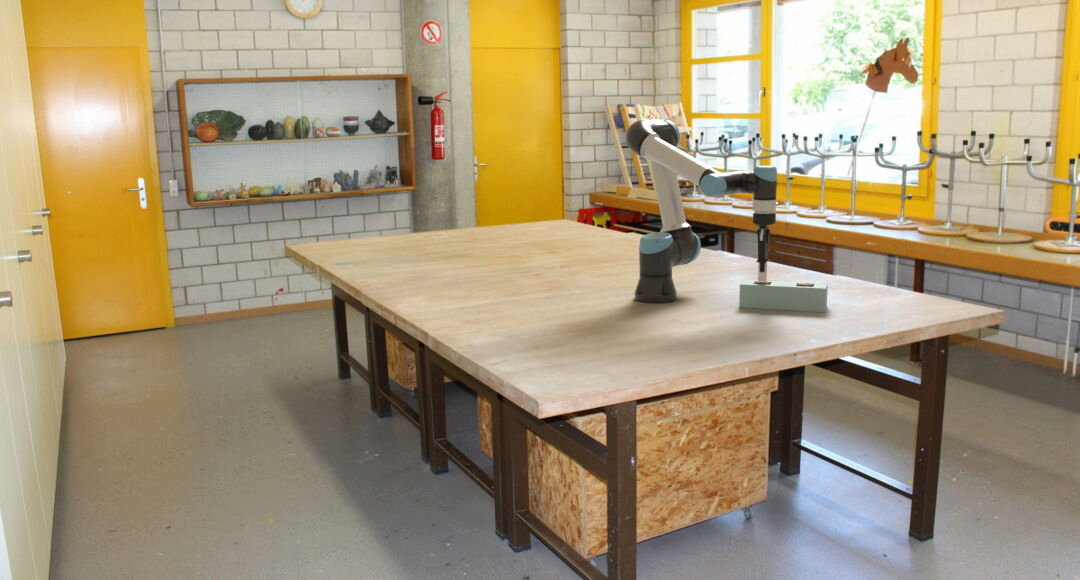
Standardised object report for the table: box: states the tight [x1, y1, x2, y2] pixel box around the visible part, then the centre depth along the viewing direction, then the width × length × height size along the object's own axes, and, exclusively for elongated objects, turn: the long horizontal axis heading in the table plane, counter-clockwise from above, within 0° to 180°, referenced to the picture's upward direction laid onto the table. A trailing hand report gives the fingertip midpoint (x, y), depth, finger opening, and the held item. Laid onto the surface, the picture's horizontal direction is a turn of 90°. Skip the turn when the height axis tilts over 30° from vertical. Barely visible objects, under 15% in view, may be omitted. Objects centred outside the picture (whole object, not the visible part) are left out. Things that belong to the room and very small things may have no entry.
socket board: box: [738, 279, 829, 313], centre depth 304 cm, size 28×9×8 cm, turn 69°
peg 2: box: [798, 282, 812, 287], centre depth 301 cm, size 5×5×8 cm
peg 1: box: [756, 280, 770, 285], centre depth 306 cm, size 5×5×8 cm
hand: (762, 280), depth 306 cm, fingers closed
